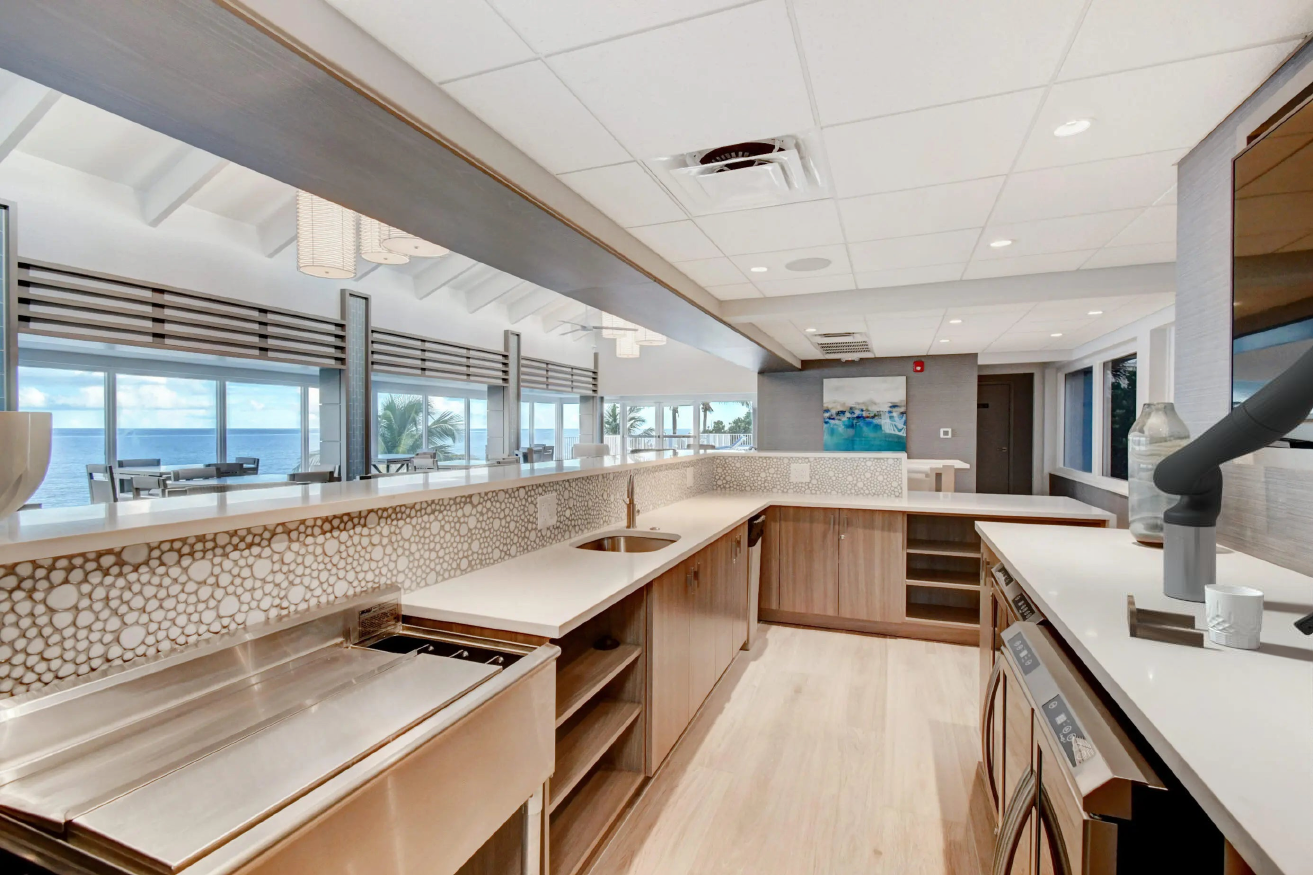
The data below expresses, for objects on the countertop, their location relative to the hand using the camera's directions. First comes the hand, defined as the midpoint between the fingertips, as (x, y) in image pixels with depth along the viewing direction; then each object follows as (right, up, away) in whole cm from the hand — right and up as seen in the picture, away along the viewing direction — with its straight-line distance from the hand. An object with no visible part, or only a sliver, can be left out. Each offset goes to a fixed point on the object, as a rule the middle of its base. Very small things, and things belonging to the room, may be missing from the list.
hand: (1299, 629), depth 104 cm
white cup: (-7, -4, +5) cm, 9 cm away
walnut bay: (-14, -4, +11) cm, 18 cm away
